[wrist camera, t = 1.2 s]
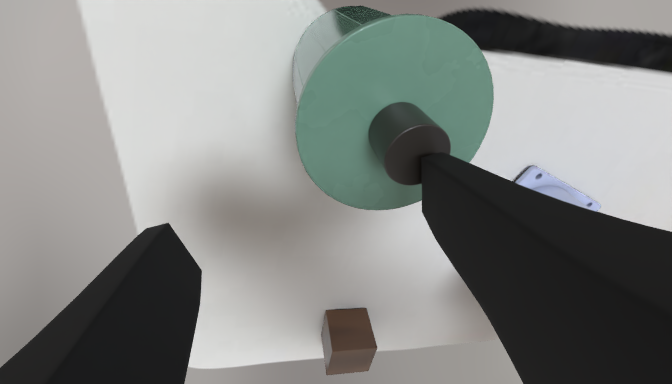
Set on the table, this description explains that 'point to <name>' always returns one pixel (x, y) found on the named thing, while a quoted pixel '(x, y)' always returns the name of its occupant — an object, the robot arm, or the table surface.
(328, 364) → the block
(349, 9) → the tin
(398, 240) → the table surface
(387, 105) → the lid
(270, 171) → the table surface
